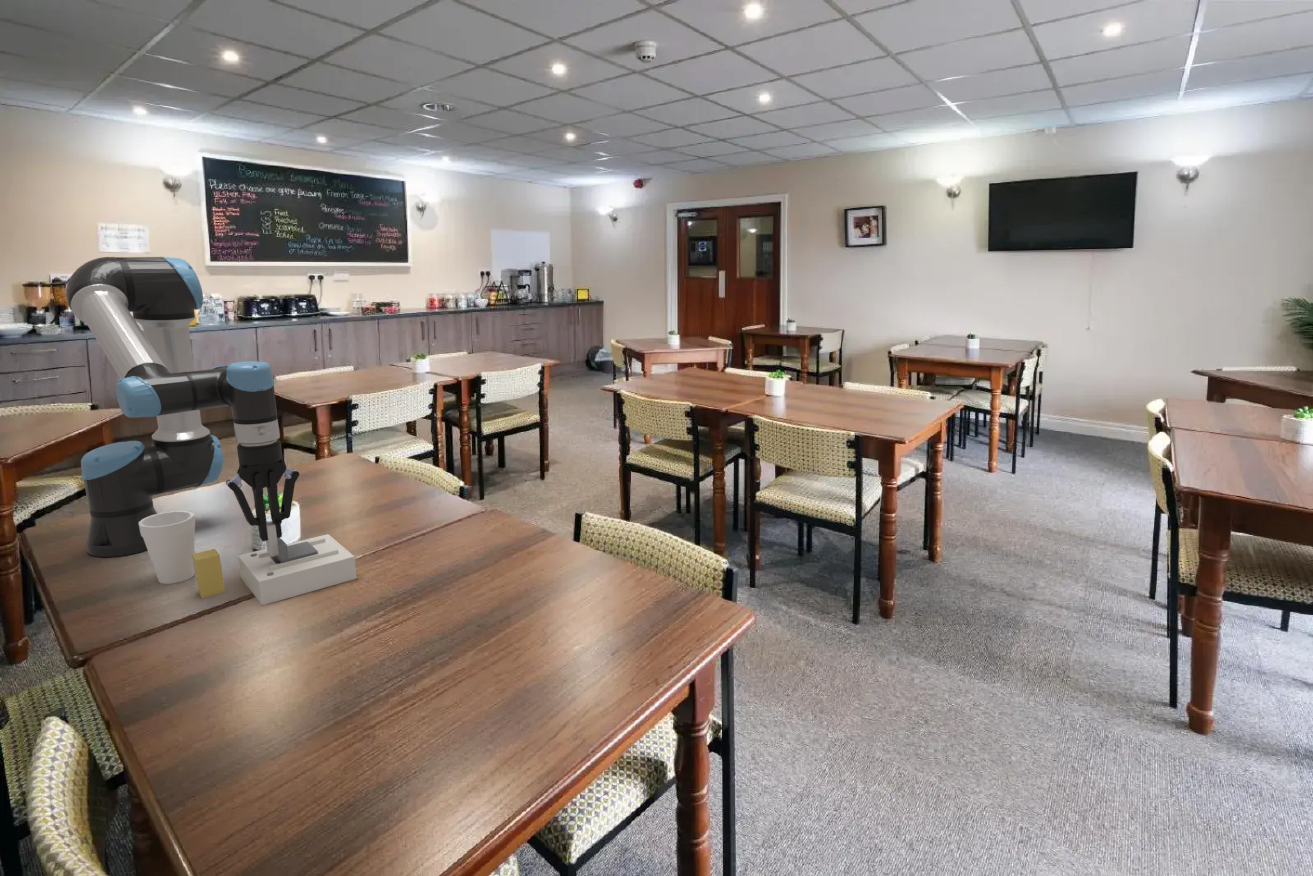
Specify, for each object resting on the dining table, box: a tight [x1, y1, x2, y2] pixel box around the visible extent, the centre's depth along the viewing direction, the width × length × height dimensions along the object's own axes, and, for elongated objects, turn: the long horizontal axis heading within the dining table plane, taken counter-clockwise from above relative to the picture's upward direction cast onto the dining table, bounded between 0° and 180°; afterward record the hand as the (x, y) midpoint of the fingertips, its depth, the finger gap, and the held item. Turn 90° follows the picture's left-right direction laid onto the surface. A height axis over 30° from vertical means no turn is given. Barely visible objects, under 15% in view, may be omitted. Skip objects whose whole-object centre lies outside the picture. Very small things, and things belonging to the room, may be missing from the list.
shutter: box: [275, 537, 318, 563], centre depth 146 cm, size 7×7×4 cm
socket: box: [237, 533, 357, 606], centre depth 148 cm, size 16×18×6 cm
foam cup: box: [138, 510, 197, 585], centre depth 146 cm, size 10×9×13 cm
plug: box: [192, 548, 226, 599], centre depth 141 cm, size 4×4×8 cm
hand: (273, 553), depth 144 cm, fingers closed
